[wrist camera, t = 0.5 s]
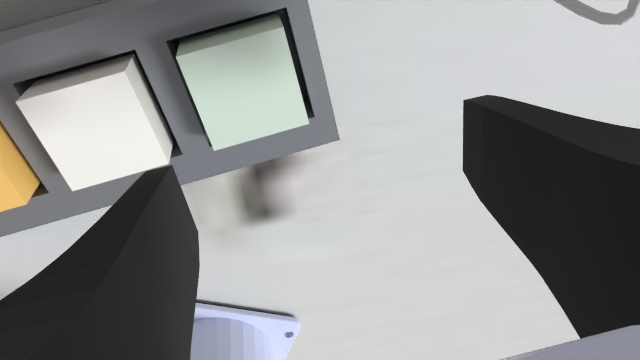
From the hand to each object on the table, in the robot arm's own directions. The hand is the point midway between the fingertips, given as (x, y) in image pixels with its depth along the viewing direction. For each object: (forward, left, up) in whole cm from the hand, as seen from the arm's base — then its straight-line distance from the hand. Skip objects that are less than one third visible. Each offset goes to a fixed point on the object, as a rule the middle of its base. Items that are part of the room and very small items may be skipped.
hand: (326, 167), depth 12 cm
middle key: (-3, +6, -7) cm, 9 cm away
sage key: (0, +2, -7) cm, 7 cm away
